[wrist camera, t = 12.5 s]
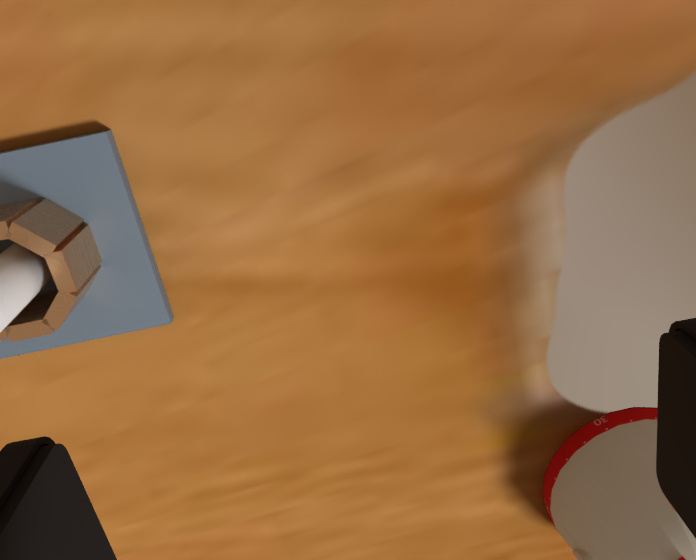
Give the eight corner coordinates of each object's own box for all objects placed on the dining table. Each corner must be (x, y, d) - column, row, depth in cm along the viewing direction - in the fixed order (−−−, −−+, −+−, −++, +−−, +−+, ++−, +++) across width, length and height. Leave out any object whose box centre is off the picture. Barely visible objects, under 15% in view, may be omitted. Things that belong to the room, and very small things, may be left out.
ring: (76, 189, 38) (46, 212, 33) (114, 291, 41) (90, 325, 36) (-37, 212, 38) (-82, 238, 33) (9, 313, 41) (-27, 350, 36)
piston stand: (110, 129, 38) (51, 162, 29) (173, 317, 43) (140, 397, 34) (-99, 172, 38) (-225, 220, 29) (-11, 355, 43) (-95, 445, 34)
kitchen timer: (604, 565, 55) (707, 745, 42) (509, 483, 51) (589, 653, 37) (735, 471, 53) (893, 631, 39) (647, 375, 48) (790, 516, 34)
